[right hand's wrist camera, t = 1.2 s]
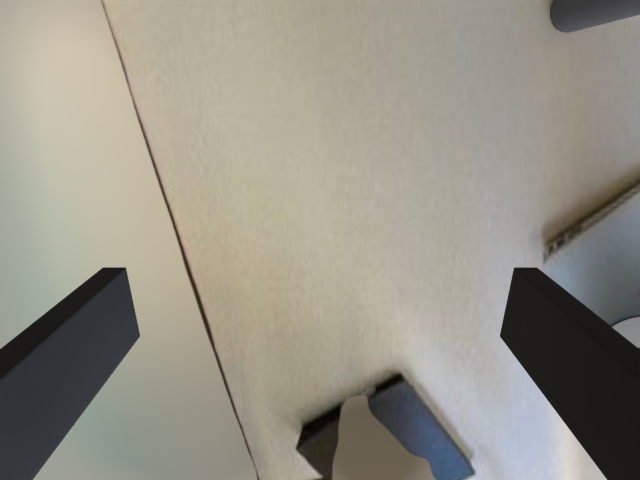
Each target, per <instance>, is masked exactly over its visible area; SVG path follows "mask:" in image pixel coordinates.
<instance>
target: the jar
mask: <svg viewBox="0 0 640 480" xmlns="http://www.w3.org/2000/svg"><path fill="white" fill-rule="evenodd" d="M550 15H551V21H552V23H553V25H554V27H555V28H556V29H558V30H559V31H562V32H573V31H577V30H581V29H584V28H588V27H592V26H596V25H600V24H604V23H608V22H612V21H616V20H620V19H624V18H628V17H632V16H636V15H640V0H554V1H553V4H552V7H551V13H550Z"/></svg>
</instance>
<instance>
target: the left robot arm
mask: <svg viewBox="0 0 640 480" xmlns="http://www.w3.org/2000/svg"><path fill="white" fill-rule="evenodd" d="M612 328H614V329H615V330H616V331H617V332H619V333H620V334H621V335H622V336H624V337H625V338H626V339H627V340H629V341H630V342H631V343H632V344H634V345H635V346H636V347H638V348H640V317H635V318H630V319H627V320H624V321H622V322H620V323H618V324H616V325H614V326H612Z"/></svg>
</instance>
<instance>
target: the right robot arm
mask: <svg viewBox="0 0 640 480" xmlns="http://www.w3.org/2000/svg"><path fill="white" fill-rule="evenodd" d="M139 337H140V334H139V329H138V324H137V319H136V314H135V310H134V305H133V300H132V295H131V290H130V286H129V281H128V276H127V271H126V268H102V269H101V270H100V271H98V272H97V273H96V274H94V275H93V276H92V277H91V278H89V279H88V280H87V281H86V282H85V283H83V284H82V285H81V286H79V287H78V288H77V289H76V290H74V291H73V292H72V293H71V294H69V295H68V296H67V297H66V298H64V299H63V300H62V301H60V302H59V303H58V304H57V305H55V306H54V307H53V308H52V309H50V310H49V311H48V312H47V313H45V314H44V315H43V316H42V317H40V318H39V319H38V320H37V321H35V322H34V323H33V324H32V325H30V326H29V327H28V328H26V329H25V330H24V331H23V332H21V333H20V334H19V335H18V336H16V337H15V338H14V339H13V340H11V341H10V342H9V343H8V344H6V345H5V346H4V347H2V348H1V349H0V480H33V478H34V477H35V476H36V475H37V473H38V472H39V471H40V469H41V468H42V466H43V465H44V464H45V462H46V461H47V460H48V458H49V457H50V456H51V454H52V453H53V452H54V450H55V449H56V448H57V446H58V445H59V444H60V442H61V441H62V440H63V438H64V437H65V436H66V434H67V433H68V432H69V430H70V429H71V428H72V426H73V425H74V424H75V422H76V421H77V420H78V418H79V417H80V416H81V414H82V413H83V412H84V410H85V409H86V408H87V406H88V405H89V404H90V402H91V401H92V400H93V398H94V397H95V396H96V394H97V393H98V392H99V390H100V389H101V388H102V386H103V385H104V384H105V382H106V381H107V380H108V378H109V377H110V376H111V374H112V373H113V372H114V370H115V369H116V368H117V366H118V365H119V364H120V362H121V361H122V360H123V358H124V357H125V356H126V354H127V353H128V352H129V350H130V349H131V348H132V346H133V345H134V343H135V342H136V341H137V339H138V338H139ZM500 337H501V338H502V340H503V341H504V342H505V344H506V345H507V346H508V348H509V349H510V350H511V352H512V353H513V354H514V356H515V357H516V358H517V360H518V361H519V362H520V364H521V365H522V366H523V368H524V369H525V370H526V372H527V373H528V374H529V376H530V377H531V378H532V380H533V381H534V382H535V384H536V385H537V386H538V388H539V389H540V390H541V392H542V393H543V394H544V396H545V397H546V398H547V400H548V401H549V402H550V404H551V405H552V406H553V408H554V409H555V410H556V412H557V413H558V414H559V416H560V417H561V418H562V420H563V421H564V422H565V424H566V425H567V426H568V428H569V429H570V430H571V432H572V433H573V434H574V436H575V437H576V438H577V440H578V441H579V442H580V444H581V445H582V446H583V448H584V449H585V450H586V452H587V453H588V454H589V456H590V457H591V458H592V460H593V461H594V462H595V464H596V465H597V466H598V468H599V469H600V471H601V472H602V473H603V475H604V476H605V477H606V479H607V480H640V348H638V347H636V346H635V345H634V344H632V343H631V342H630V341H629V340H627V339H626V338H625V337H624V336H622V335H621V334H620V333H619V332H617V331H616V330H615V329H614V328H612V327H611V326H610V325H609V324H607V323H606V322H605V321H603V320H602V319H601V318H600V317H598V316H597V315H596V314H595V313H593V312H592V311H591V310H590V309H588V308H587V307H586V306H585V305H583V304H582V303H581V302H580V301H578V300H577V299H576V298H574V297H573V296H572V295H571V294H569V293H568V292H567V291H566V290H564V289H563V288H562V287H561V286H559V285H558V284H557V283H556V282H554V281H553V280H552V279H551V278H549V277H548V276H547V275H546V274H544V273H543V272H542V271H540V270H539V269H538V268H514V271H513V276H512V281H511V285H510V290H509V295H508V300H507V305H506V310H505V314H504V319H503V324H502V329H501V334H500Z"/></svg>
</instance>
